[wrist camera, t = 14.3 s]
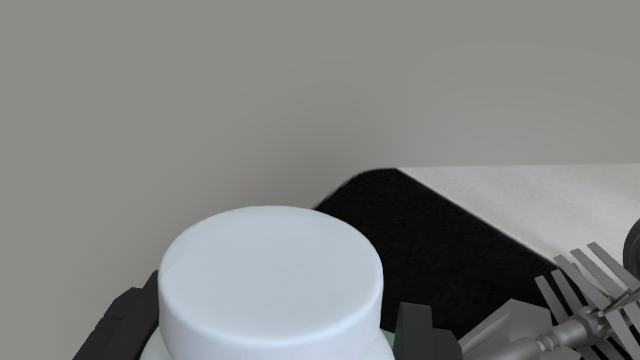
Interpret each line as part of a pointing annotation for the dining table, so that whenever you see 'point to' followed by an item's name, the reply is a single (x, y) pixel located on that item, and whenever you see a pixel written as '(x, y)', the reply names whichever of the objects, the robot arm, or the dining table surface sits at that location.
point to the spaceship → (575, 332)
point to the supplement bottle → (269, 290)
